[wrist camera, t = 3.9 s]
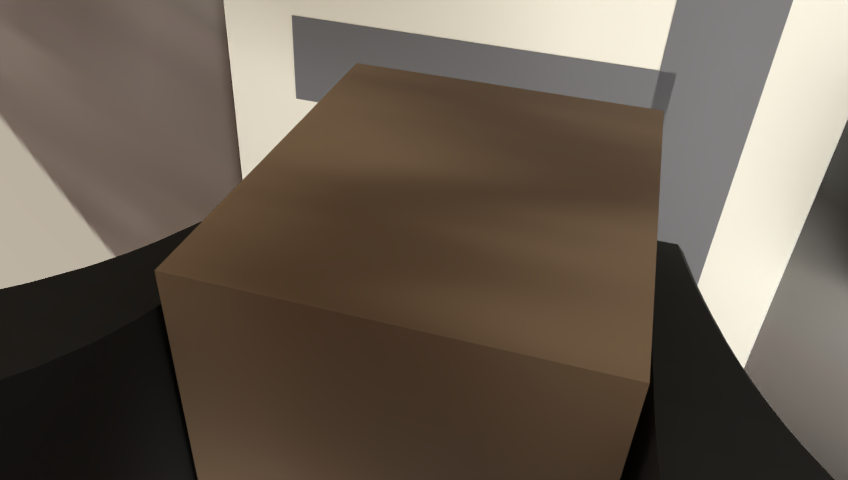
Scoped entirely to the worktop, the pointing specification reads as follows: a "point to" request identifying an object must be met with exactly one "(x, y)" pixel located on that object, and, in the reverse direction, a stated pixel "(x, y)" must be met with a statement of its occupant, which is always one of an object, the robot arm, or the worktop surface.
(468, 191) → the walnut block
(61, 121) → the worktop surface
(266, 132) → the letter board
